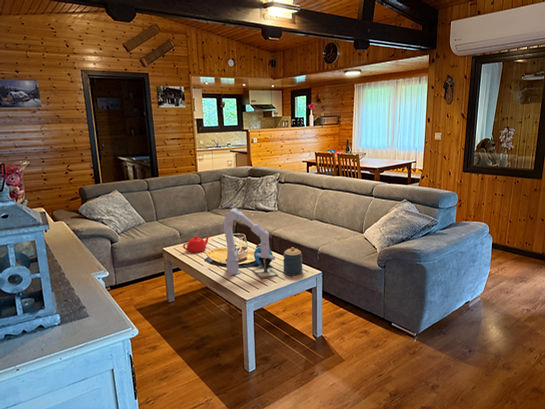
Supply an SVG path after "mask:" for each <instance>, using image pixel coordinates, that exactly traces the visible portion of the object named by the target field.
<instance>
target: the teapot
mask: <svg viewBox="0 0 545 409" xmlns="http://www.w3.org/2000/svg"><path fill="white" fill-rule="evenodd" d="M210 237H211V236H210V235H209V236H206V238H205V239H204V238H202V237H198V235H194V236H193V237H192V238H190V239H188V240H187V242H185V243H183V245H182V247H183V249H184V250H186V251H188V252H189V253H193V254H198V253H202V252H203V251H205V250H206V248H207V246H208V242H209V238H210Z"/></svg>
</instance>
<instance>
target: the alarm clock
mask: <svg viewBox="0 0 545 409" xmlns="http://www.w3.org/2000/svg"><path fill="white" fill-rule="evenodd" d="M256 253H261V243H257V244H256V247H255V250H254V253H253V257H254V261H255V263H257V264H258V265H259V266H261V267H262V264H261V262H260V260H259V258H260V257H259V256H256ZM269 254H270V255H272V256H274V255H273V252H272V250H271V247H270V246H269ZM272 261H273V260H271V262H272Z"/></svg>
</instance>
